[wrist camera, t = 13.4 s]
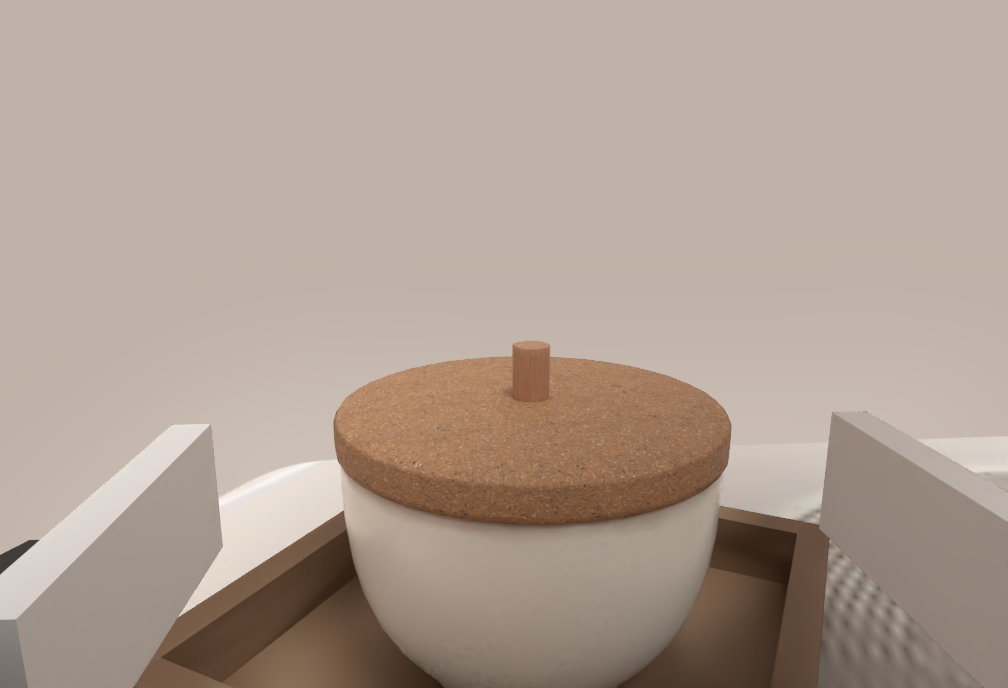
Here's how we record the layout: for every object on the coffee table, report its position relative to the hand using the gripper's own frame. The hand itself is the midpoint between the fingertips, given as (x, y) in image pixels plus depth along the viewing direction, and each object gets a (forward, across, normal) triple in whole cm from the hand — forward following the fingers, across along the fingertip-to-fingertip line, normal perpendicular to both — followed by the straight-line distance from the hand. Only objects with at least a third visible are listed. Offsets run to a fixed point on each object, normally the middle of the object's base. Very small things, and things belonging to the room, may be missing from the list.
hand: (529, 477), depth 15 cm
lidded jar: (+5, 0, -8) cm, 9 cm away
